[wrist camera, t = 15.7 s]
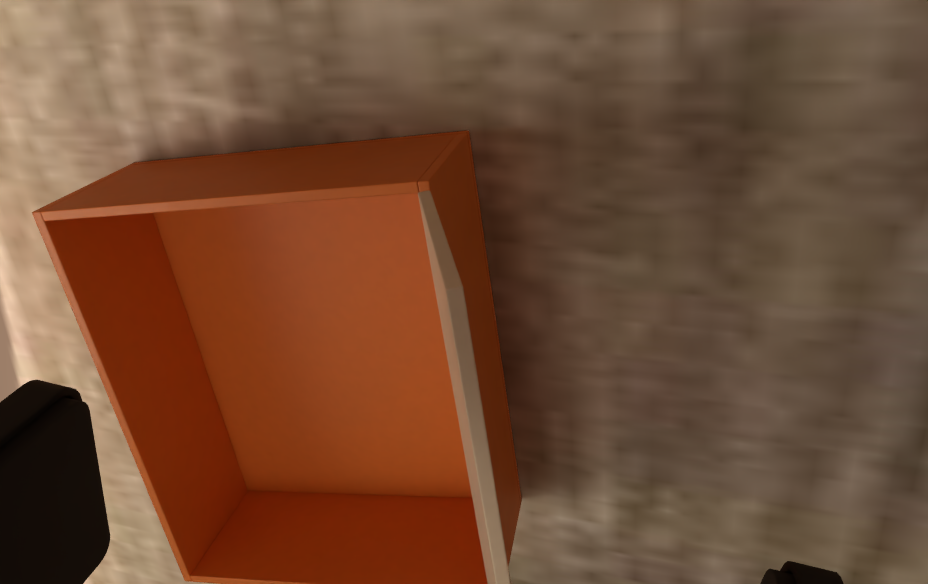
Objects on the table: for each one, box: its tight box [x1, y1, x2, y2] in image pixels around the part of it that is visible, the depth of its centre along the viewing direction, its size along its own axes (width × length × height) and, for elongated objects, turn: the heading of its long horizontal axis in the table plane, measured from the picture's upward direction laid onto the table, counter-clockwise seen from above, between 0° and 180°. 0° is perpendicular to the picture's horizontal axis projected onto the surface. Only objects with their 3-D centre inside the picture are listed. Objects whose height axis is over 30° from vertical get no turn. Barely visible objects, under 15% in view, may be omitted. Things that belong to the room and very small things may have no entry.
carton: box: [32, 131, 522, 584], centre depth 24 cm, size 14×12×5 cm
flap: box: [418, 190, 511, 584], centre depth 18 cm, size 14×6×1 cm
